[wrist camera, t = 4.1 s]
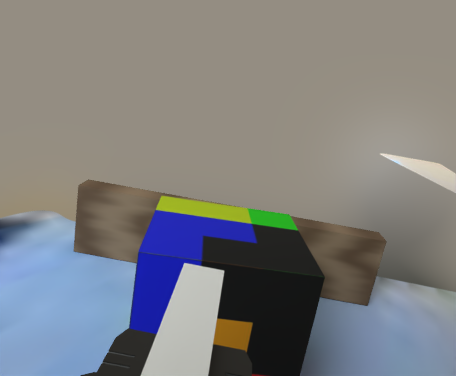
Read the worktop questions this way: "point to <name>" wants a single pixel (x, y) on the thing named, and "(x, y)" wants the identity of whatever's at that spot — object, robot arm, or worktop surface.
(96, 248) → the walnut board
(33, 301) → the worktop surface
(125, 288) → the worktop surface
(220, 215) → the puzzle toy
